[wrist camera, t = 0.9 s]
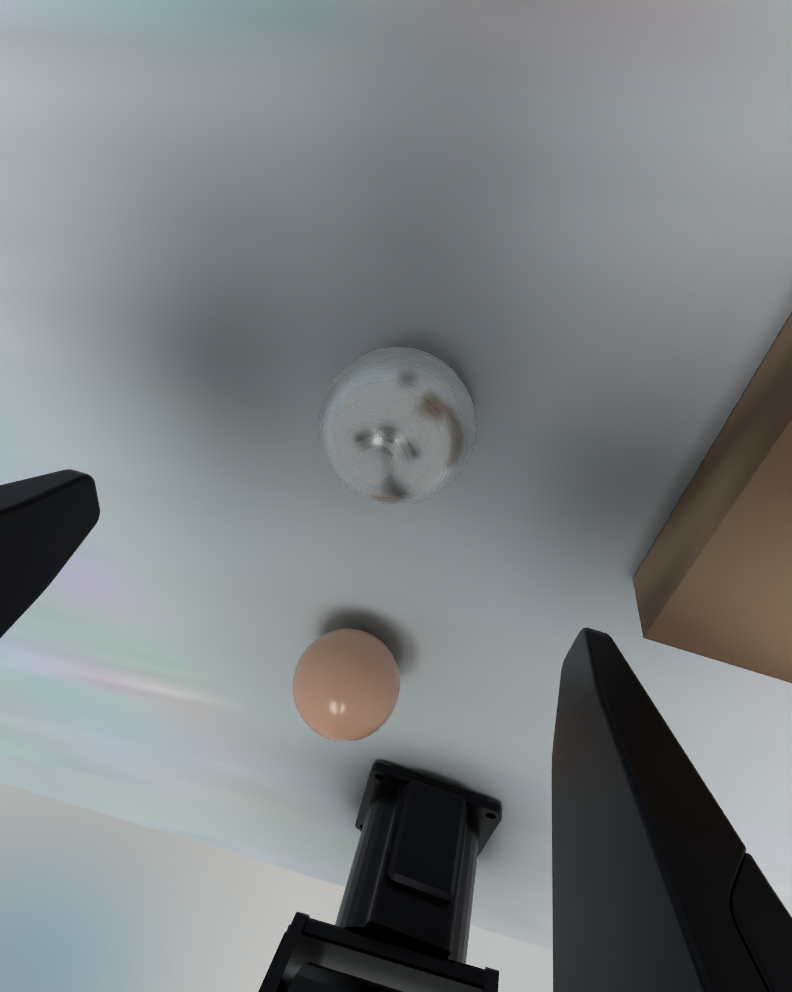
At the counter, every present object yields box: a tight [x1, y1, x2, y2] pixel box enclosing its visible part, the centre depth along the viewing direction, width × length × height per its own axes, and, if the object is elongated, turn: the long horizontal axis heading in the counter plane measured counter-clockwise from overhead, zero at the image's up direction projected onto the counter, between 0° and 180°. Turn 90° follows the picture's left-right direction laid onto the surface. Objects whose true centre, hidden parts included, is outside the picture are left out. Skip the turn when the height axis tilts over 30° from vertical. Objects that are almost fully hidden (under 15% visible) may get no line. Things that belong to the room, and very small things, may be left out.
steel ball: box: [319, 347, 476, 505], centre depth 14 cm, size 4×4×4 cm
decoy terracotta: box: [293, 629, 400, 742], centre depth 20 cm, size 4×4×4 cm
